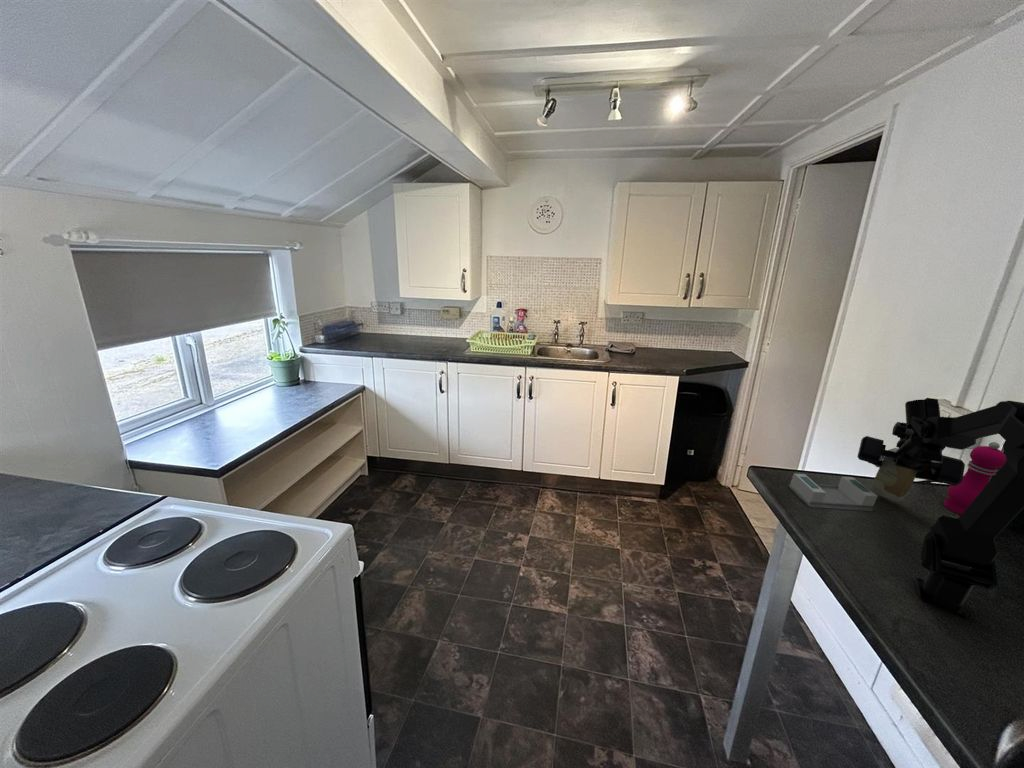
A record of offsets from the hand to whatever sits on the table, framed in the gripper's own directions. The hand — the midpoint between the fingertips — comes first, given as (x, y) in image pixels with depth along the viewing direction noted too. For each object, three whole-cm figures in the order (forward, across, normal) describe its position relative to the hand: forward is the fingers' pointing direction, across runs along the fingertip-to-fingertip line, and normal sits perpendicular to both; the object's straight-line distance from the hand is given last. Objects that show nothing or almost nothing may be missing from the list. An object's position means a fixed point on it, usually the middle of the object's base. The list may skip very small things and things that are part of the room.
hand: (896, 470), depth 108 cm
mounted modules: (-1, +12, +14) cm, 18 cm away
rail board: (-1, +12, +14) cm, 18 cm away
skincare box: (+4, 0, +6) cm, 7 cm away
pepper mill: (+12, -16, +1) cm, 20 cm away
